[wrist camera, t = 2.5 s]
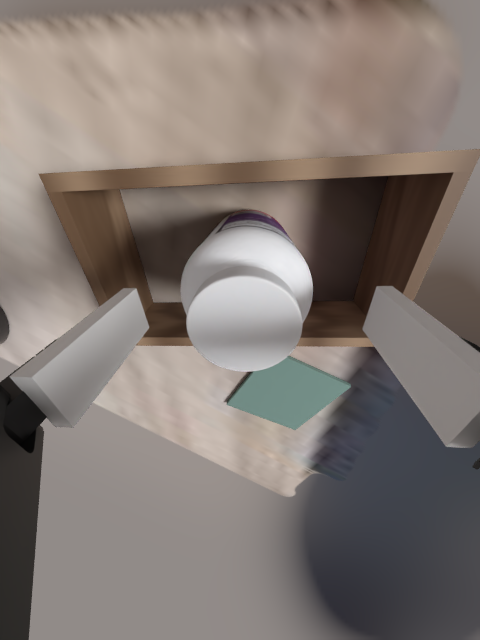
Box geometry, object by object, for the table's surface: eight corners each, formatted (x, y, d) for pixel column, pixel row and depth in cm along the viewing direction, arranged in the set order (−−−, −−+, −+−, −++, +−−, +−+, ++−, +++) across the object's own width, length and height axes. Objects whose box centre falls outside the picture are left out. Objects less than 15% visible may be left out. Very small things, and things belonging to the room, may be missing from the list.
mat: (227, 401, 36) (226, 404, 36) (271, 347, 29) (271, 350, 28) (294, 426, 39) (295, 429, 38) (349, 383, 32) (351, 386, 31)
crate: (147, 309, 27) (117, 345, 21) (104, 176, 19) (38, 173, 13) (359, 308, 25) (392, 346, 19) (405, 160, 17) (483, 148, 11)
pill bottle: (238, 298, 25) (224, 404, 13) (195, 239, 22) (121, 310, 10) (301, 262, 22) (357, 354, 10) (262, 188, 19) (277, 196, 7)
